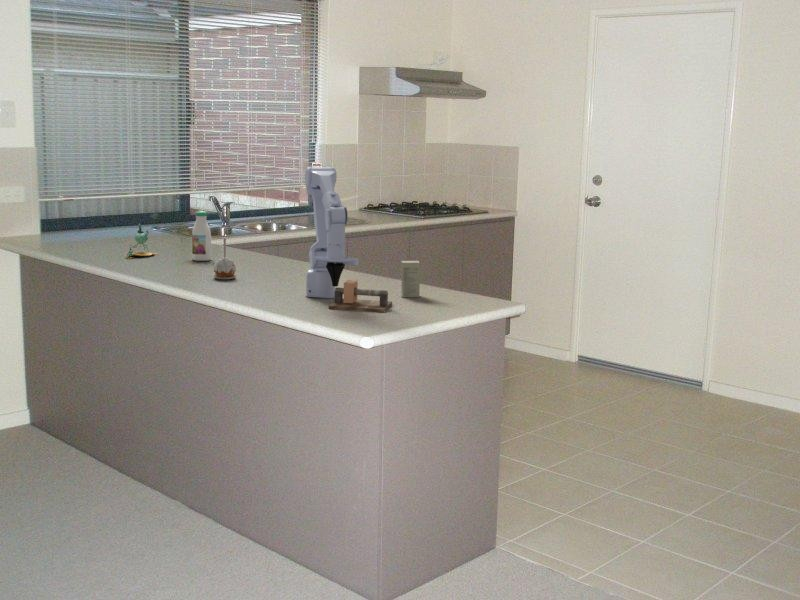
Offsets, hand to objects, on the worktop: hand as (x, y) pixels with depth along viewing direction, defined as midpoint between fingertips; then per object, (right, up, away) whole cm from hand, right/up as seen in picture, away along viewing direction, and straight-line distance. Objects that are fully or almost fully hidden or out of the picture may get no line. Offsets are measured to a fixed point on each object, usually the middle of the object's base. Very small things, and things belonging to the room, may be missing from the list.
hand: (335, 285), depth 304 cm
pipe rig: (+8, -7, 0) cm, 11 cm away
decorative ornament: (-44, +3, +44) cm, 62 cm away
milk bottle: (-61, +12, +85) cm, 106 cm away
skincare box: (+24, -4, +19) cm, 31 cm away
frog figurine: (-89, +13, +90) cm, 127 cm away
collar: (+5, -5, 0) cm, 7 cm away
